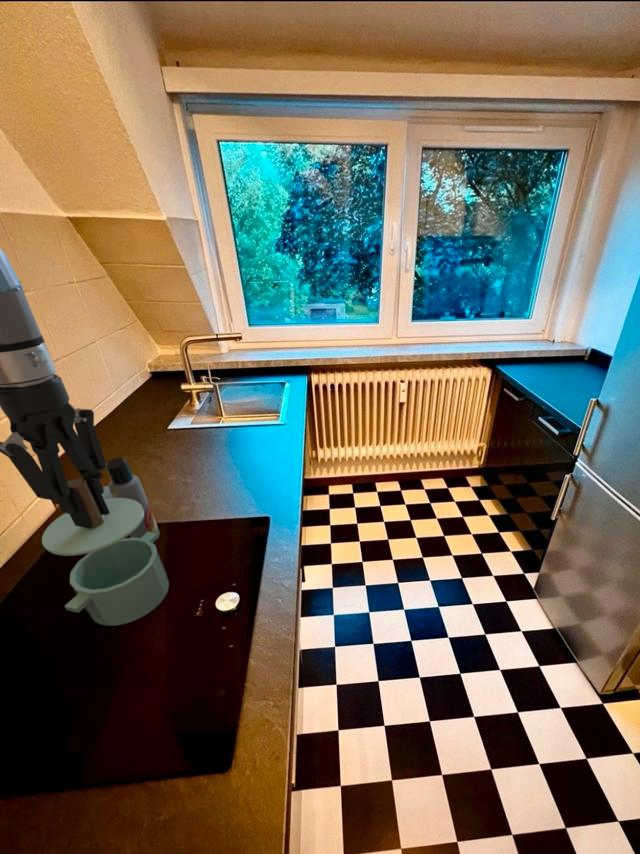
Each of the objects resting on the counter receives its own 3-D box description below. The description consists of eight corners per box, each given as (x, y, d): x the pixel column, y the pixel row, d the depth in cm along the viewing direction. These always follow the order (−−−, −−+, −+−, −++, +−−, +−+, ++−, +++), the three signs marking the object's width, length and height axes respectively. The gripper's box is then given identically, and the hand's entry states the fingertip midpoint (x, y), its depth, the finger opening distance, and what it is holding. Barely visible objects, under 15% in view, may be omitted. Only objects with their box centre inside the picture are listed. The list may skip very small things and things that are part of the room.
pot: (57, 629, 67) (34, 596, 63) (137, 555, 83) (123, 524, 78) (122, 646, 64) (103, 613, 60) (192, 566, 80) (181, 535, 75)
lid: (21, 549, 60) (-9, 502, 55) (97, 497, 72) (77, 455, 67) (97, 566, 57) (72, 517, 52) (163, 509, 69) (148, 465, 64)
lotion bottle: (164, 528, 90) (135, 453, 79) (154, 545, 85) (122, 467, 75) (139, 529, 90) (108, 454, 79) (128, 546, 85) (92, 468, 74)
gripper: (-17, 403, 44) (69, 555, 56) (97, 364, 57) (146, 495, 69) (-65, 397, 45) (29, 546, 58) (56, 361, 58) (111, 490, 71)
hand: (92, 518), depth 64 cm, fingers closed on lid, 3 cm apart
